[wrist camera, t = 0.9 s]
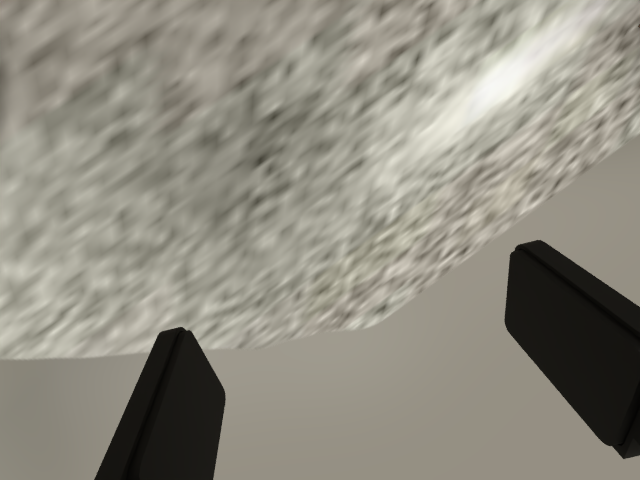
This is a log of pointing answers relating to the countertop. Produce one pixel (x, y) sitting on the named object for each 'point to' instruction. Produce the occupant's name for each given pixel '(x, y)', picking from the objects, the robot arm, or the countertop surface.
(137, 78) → the countertop surface
